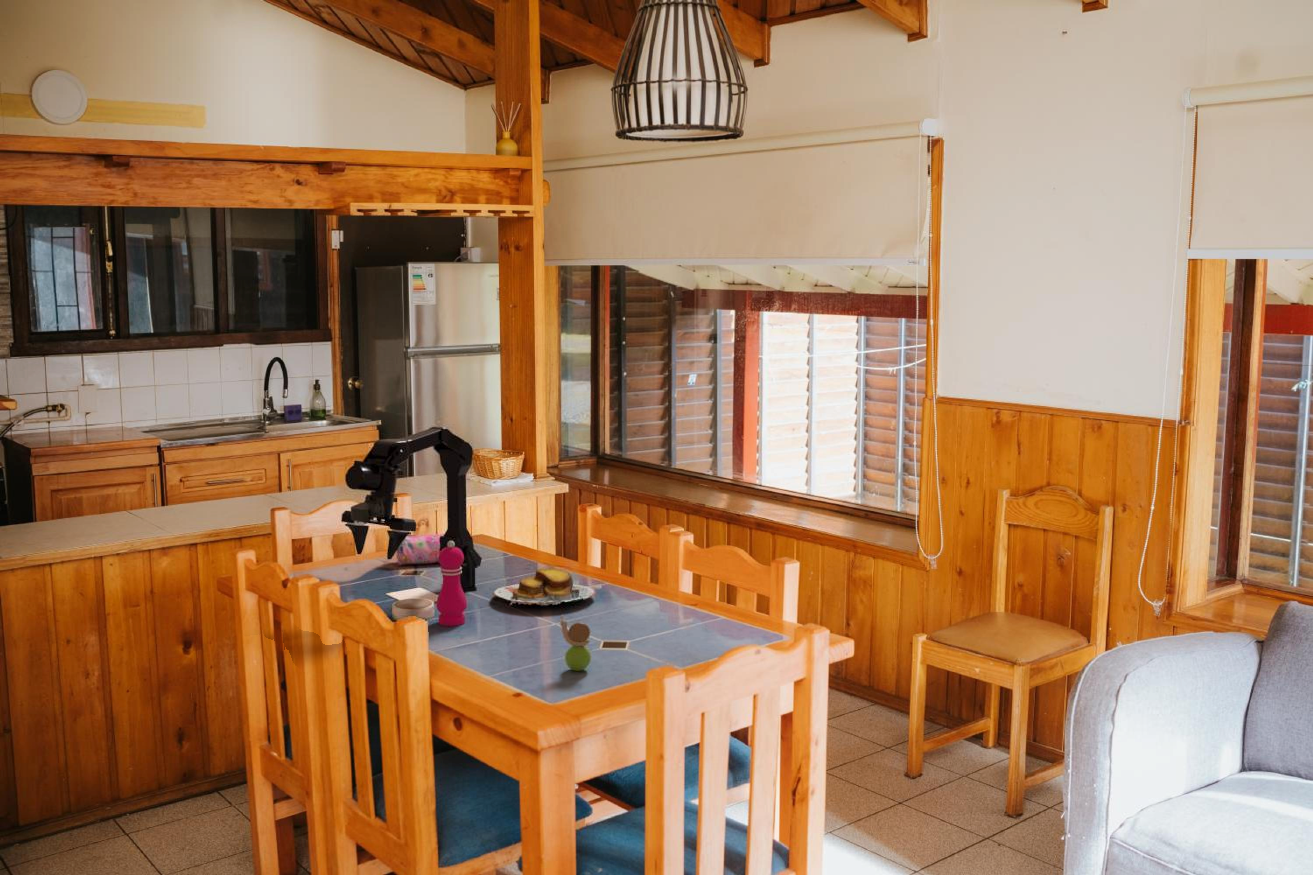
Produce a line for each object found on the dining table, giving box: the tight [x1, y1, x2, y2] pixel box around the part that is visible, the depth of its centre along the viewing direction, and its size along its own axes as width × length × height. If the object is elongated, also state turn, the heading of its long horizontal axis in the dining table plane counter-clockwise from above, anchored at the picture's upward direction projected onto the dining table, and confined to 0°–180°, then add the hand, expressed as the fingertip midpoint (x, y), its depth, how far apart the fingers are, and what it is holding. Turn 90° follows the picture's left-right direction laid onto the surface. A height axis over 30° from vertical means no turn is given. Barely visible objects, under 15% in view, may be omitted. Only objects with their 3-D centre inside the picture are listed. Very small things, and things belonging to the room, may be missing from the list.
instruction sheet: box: [385, 587, 439, 603], centre depth 303 cm, size 10×14×1 cm
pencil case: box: [395, 533, 445, 566], centre depth 340 cm, size 21×9×9 cm, turn 110°
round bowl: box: [391, 599, 435, 621], centre depth 286 cm, size 10×10×3 cm
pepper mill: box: [435, 541, 468, 627], centre depth 280 cm, size 7×7×20 cm
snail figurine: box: [560, 614, 592, 672], centre depth 248 cm, size 5×6×12 cm
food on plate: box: [492, 568, 597, 607], centre depth 302 cm, size 26×26×7 cm
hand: (374, 556), depth 282 cm, fingers open, 9 cm apart
